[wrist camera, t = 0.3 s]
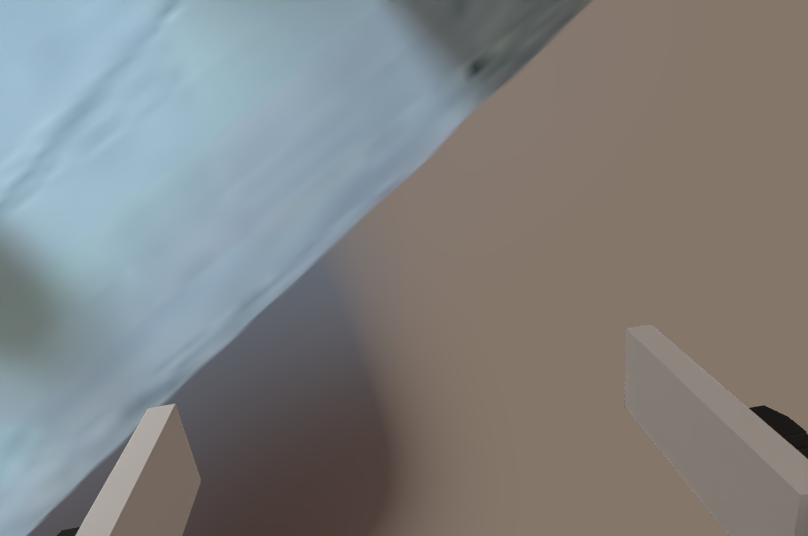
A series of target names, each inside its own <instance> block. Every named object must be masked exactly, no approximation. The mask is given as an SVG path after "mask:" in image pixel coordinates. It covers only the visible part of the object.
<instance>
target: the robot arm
mask: <svg viewBox="0 0 808 536" xmlns="http://www.w3.org/2000/svg"><path fill="white" fill-rule="evenodd" d="M625 354H626V356H625V408H626V409H627V411H628V412H629V413H630V414H631V416H632V417H633V418H634V419H635V420H636V422H637V423H638V424H639V425H640V427H641V428H642V429H643V430H644V432H645V433H646V434H647V435H648V437H649V438H650V439H651V440H652V442H653V443H654V444H655V445H656V446H657V448H658V449H659V450H660V451H661V453H662V454H663V455H664V456H665V458H666V459H667V460H668V461H669V463H670V464H671V465H672V466H673V468H674V469H675V470H676V471H677V472H678V474H679V475H680V476H681V477H682V479H683V480H684V481H685V482H686V484H687V485H688V486H689V487H690V489H691V490H692V491H693V492H694V494H695V495H696V496H697V497H698V498H699V500H700V501H701V502H702V503H703V505H704V506H705V507H706V508H707V510H708V511H709V512H710V513H711V515H712V516H713V517H714V518H715V519H716V521H717V522H718V523H719V525H720V526H721V527H722V528H723V530H724V531H725V532H726V533H727V534H728V536H808V435H807V433H806V431H805V430H804V429H803V428H801V427H800V426H799V425H797V424H796V423H795V422H794V421H793V420H791V419H790V418H789V417H787V416H785V415H783V414H781V413H779V412H777V411H775V410H773V409H770V408H768V407H766V406H758V407H753V408H748V407H747V406H745V405H744V404H743V403H742V402H741V401H740V400H738V399H737V398H736V397H735V396H734V395H733V394H732V393H730V392H729V391H728V390H727V389H726V388H724V387H723V386H722V385H721V384H720V383H719V382H718V381H716V380H715V379H714V378H713V377H712V376H711V375H710V374H708V373H707V372H706V371H705V370H704V369H702V368H701V367H700V366H699V365H698V364H697V363H695V362H694V361H693V360H692V359H691V358H690V357H689V356H687V355H686V354H685V353H684V352H683V351H682V350H680V349H679V348H678V347H677V346H675V345H674V344H673V343H672V342H671V341H670V340H669V339H668V338H666V337H665V336H664V335H663V334H662V333H660V331H658V330H657V329H656V328H655V327H654V326H652V325H651V324H650V325H644V326H638V327H633V328H626V353H625ZM200 482H201V479H200V476H199V473H198V471H197V467H196V464H195V461H194V458H193V455H192V453H191V449H190V447H189V444H188V441H187V438H186V435H185V432H184V429H183V426H182V423H181V420H180V417H179V414H178V411H177V408H176V405H175V404H172V405H166V406H160V407H154V408H148V409H147V411H146V413H145V414H144V416H143V418H142V420H141V421H140V423H139V425H138V427H137V428H136V430H135V432H134V434H133V435H132V437H131V439H130V441H129V442H128V444H127V446H126V448H125V449H124V451H123V453H122V455H121V456H120V458H119V460H118V462H117V463H116V465H115V467H114V469H113V470H112V472H111V474H110V476H109V478H108V479H107V481H106V483H105V484H104V486H103V488H102V490H101V491H100V493H99V495H98V497H97V498H96V500H95V503H94V504H93V505H92V507H91V509H90V511H89V513H88V514H87V516H86V518H85V520H84V521H83V523H82V525H81V527H78V528H73V529H67V530H62V531H61V532H60V533H59V534H58V535H57V536H182V534H183V531H184V528H185V525H186V522H187V520H188V517H189V513H190V511H191V508H192V505H193V502H194V499H195V496H196V493H197V491H198V488H199V484H200Z"/></svg>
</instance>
